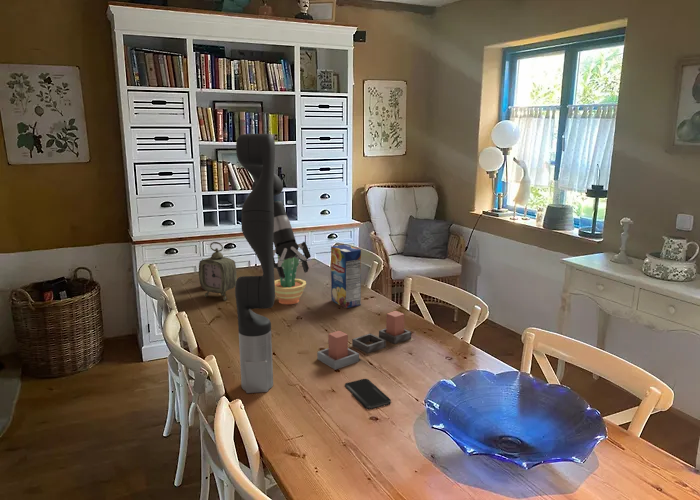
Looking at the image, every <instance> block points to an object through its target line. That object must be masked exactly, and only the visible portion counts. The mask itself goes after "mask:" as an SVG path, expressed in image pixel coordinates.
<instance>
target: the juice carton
mask: <svg viewBox="0 0 700 500" xmlns="http://www.w3.org/2000/svg"><path fill="white" fill-rule="evenodd" d="M330 276H331V277H330V279H331V280H330V282H331V284H330V285H331V286H330V288H331V289H330V290H331V292H330V293H331V302H334V303H335V304H337V305H339V306H341V307H343V308H344V309H348V308H353V307H358V306H361V305H362V301H361V300H362V298H361V297H362V295H361V294H362V291H361V290H362V277H361V276H362V250H361V249H359V248H357V247H355V246H351V245H348V244H340V245H334V246H330Z"/></svg>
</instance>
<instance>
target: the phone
mask: <svg viewBox="0 0 700 500" xmlns="http://www.w3.org/2000/svg"><path fill="white" fill-rule="evenodd" d="M344 387H345V388H346V389H347V390H348V391H349V392H350V393H351V395H352V396H353V397H354V399H356V400H357V401H358V403H360V404H361V406H363V408H365V409H366V410H373V408H374V409H377V407H378V408H381V407H384V405H385V406H388V404H389V405H391V404H390V403H392V399H391V398H389V397H388V395H386V394H385V393H384V392H383V391H382V390H381V389H379V388H378V386H376V385H375V384H374V383H373V382H372V381H371V380H370V379H369V378H362V379H358V380H353V381H349V382H346V383H344Z"/></svg>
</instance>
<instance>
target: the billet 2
mask: <svg viewBox="0 0 700 500" xmlns="http://www.w3.org/2000/svg"><path fill="white" fill-rule="evenodd" d="M385 318H386V321H385V322H386V324H385V326H386V328H385V329H386V333H388V334H391V335H393V336H397V335H400V334H403V333H404V329H405V313H403V312H400V311H397V310H394V311H391V312H388V313H386V317H385Z"/></svg>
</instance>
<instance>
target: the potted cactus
mask: <svg viewBox="0 0 700 500" xmlns="http://www.w3.org/2000/svg"><path fill="white" fill-rule="evenodd" d="M278 259H279V256H278V255H277V260H278ZM299 264H300V260H299V259H297V258H295V257H294V258H289V259H287V260H283V262H282V265H281V267H282V268H283V271H284V274H285V278H283V279H282V278H281V277H279V279H276V280H275V279H274V280H275V297H277V299H278V303H279V304H282V305H295V304H298V303H299V302H300V298H301V297H302V295H303V293H304V290H305V288H306V287H307V281H306V280H304V279H301V278H296V276H297V271H298V270H297V269H298V267H299Z"/></svg>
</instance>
